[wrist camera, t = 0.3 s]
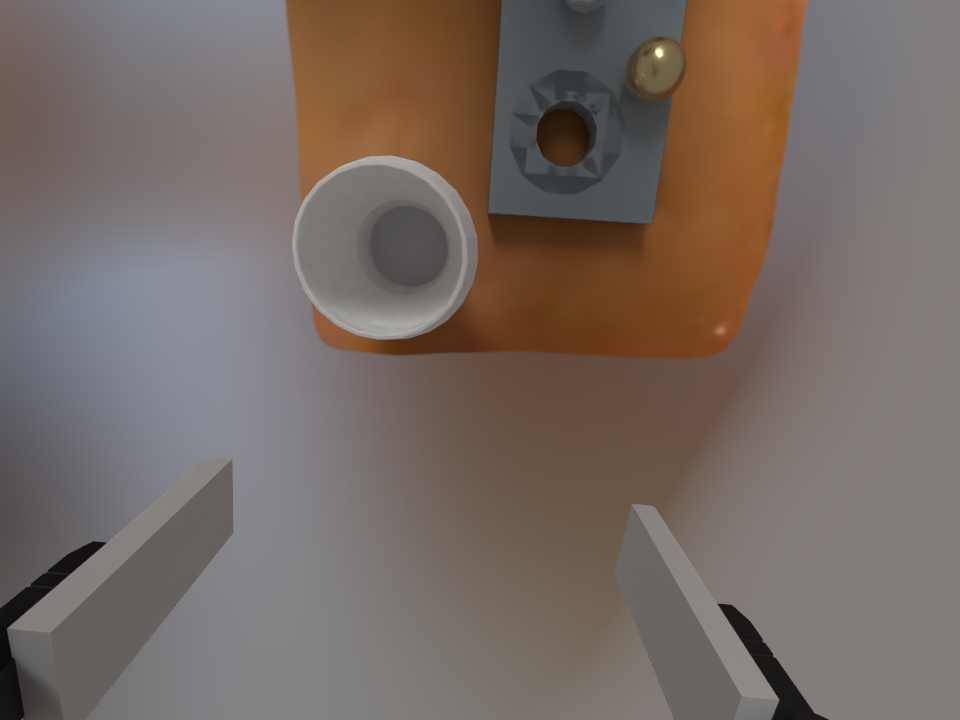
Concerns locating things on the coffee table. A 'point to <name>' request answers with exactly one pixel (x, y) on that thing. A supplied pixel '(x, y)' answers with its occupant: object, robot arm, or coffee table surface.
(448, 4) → the coffee table surface
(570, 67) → the plate
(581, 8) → the steel ball
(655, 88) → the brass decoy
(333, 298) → the cup
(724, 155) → the coffee table surface
